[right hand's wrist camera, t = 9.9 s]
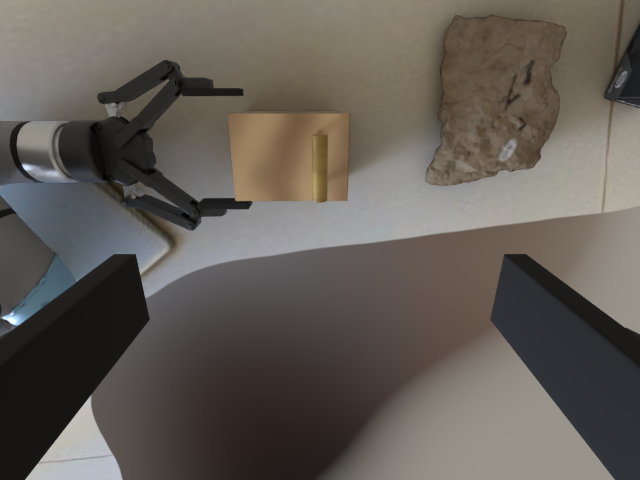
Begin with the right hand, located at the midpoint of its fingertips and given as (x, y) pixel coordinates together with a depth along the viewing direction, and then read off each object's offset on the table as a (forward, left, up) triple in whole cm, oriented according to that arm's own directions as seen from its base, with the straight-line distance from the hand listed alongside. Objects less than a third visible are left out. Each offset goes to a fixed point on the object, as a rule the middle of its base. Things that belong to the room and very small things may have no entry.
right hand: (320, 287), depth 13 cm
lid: (+4, 0, -31) cm, 31 cm away
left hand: (+9, 0, -34) cm, 35 cm away
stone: (-22, -6, -41) cm, 47 cm away
